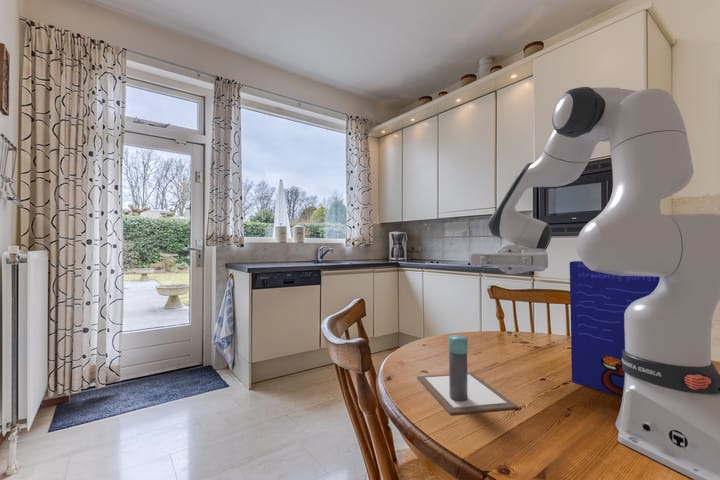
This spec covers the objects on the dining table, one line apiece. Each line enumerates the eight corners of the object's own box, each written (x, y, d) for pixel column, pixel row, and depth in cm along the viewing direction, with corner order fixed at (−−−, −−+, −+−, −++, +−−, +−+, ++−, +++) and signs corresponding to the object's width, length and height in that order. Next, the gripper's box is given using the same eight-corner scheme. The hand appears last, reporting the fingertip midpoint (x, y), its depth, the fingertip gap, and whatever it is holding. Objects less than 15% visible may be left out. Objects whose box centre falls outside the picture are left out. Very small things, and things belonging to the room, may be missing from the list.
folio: (517, 408, 68) (517, 405, 69) (450, 414, 66) (450, 411, 66) (471, 374, 87) (471, 371, 87) (417, 378, 85) (417, 375, 85)
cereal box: (701, 409, 68) (696, 263, 69) (695, 417, 65) (690, 264, 65) (581, 376, 86) (579, 260, 86) (571, 382, 82) (569, 261, 83)
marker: (471, 400, 70) (470, 339, 71) (454, 402, 70) (453, 340, 70) (462, 392, 74) (462, 334, 75) (445, 394, 74) (445, 335, 74)
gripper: (476, 248, 105) (462, 248, 93) (550, 248, 93) (544, 248, 82) (476, 268, 105) (462, 270, 93) (551, 271, 93) (545, 274, 81)
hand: (501, 260), depth 87 cm, fingers open, 8 cm apart
